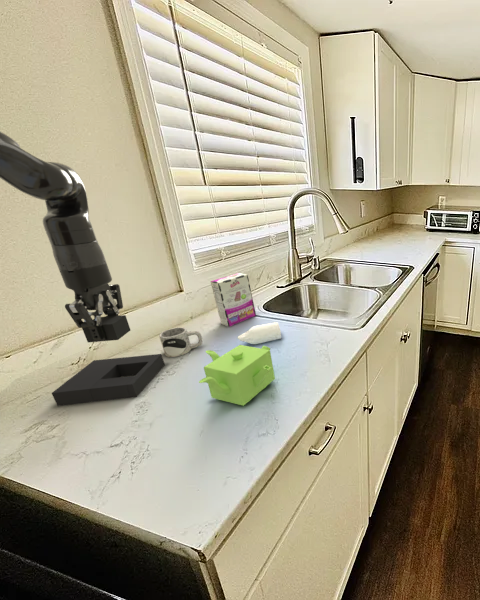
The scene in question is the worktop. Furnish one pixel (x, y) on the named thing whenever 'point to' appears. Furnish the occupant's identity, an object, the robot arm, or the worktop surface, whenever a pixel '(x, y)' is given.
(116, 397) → the base pad
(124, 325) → the small pad
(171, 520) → the worktop surface
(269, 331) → the white tapered cylinder
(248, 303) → the candy bar box
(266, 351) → the kettle
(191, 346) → the mug
